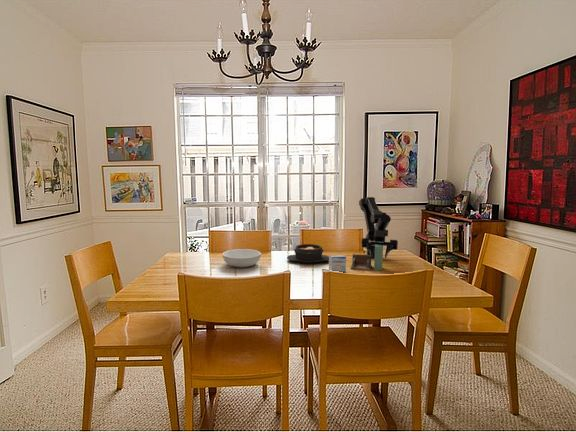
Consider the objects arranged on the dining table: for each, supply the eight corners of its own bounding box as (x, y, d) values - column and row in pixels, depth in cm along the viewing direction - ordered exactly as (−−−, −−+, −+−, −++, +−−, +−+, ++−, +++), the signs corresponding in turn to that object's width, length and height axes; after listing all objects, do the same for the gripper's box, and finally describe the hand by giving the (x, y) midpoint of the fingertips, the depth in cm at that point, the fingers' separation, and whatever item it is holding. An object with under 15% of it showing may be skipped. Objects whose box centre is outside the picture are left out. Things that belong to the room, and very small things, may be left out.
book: (374, 267, 192) (375, 244, 191) (382, 267, 191) (383, 244, 190) (374, 269, 188) (374, 246, 186) (381, 270, 187) (382, 246, 185)
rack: (352, 264, 198) (352, 253, 197) (371, 265, 195) (371, 254, 195) (350, 269, 189) (350, 257, 188) (369, 270, 186) (370, 259, 185)
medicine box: (331, 273, 180) (331, 257, 179) (328, 271, 184) (328, 255, 183) (346, 273, 182) (346, 256, 180) (342, 270, 186) (343, 254, 185)
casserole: (286, 265, 196) (286, 250, 195) (287, 256, 215) (287, 243, 214) (331, 265, 196) (332, 250, 195) (328, 257, 214) (329, 243, 213)
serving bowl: (224, 272, 183) (224, 259, 182) (221, 261, 203) (220, 249, 202) (264, 269, 189) (264, 256, 188) (257, 259, 209) (257, 247, 208)
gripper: (362, 223, 193) (359, 247, 184) (398, 224, 187) (397, 250, 178) (363, 235, 201) (360, 258, 192) (397, 236, 196) (396, 261, 187)
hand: (378, 257), depth 187 cm, fingers open, 7 cm apart
